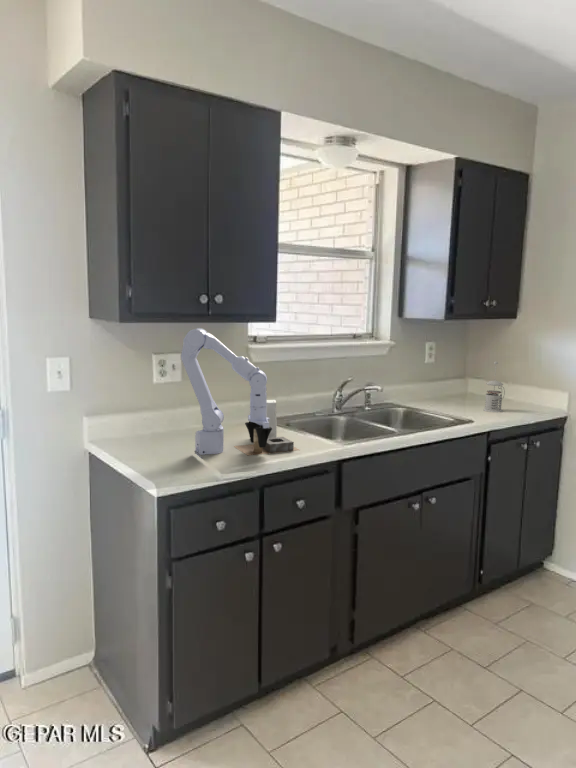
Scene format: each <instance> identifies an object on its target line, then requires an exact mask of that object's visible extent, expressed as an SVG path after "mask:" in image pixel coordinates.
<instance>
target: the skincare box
mask: <svg viewBox="0 0 576 768" xmlns="http://www.w3.org/2000/svg"><path fill="white" fill-rule="evenodd" d="M267 417H268V418H270V420H268V422H269V427H271V428H272V430H271V432H270V434H269V436H268V438H274V437H278V435H277V433H278V431H277V429H278V426H277V400H276V399H267Z"/></svg>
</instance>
